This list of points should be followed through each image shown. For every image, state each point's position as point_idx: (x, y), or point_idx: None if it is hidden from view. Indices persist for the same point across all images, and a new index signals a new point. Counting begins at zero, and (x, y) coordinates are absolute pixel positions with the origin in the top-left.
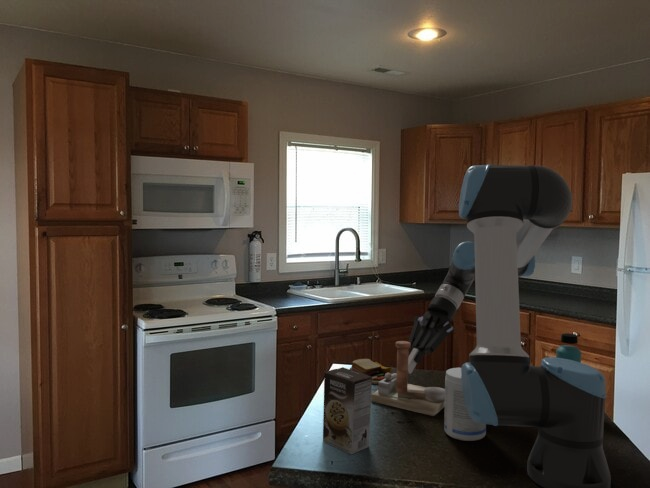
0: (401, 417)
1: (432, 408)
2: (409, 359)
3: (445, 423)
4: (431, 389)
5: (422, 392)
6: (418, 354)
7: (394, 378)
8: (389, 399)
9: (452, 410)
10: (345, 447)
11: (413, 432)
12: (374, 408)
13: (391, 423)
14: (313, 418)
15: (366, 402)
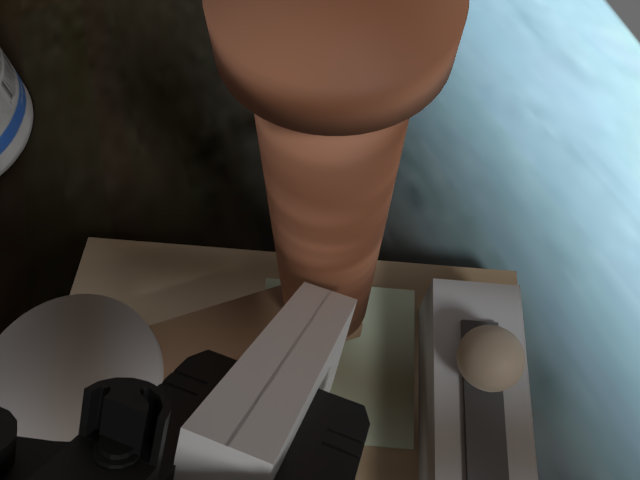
0: (260, 169)
1: (98, 239)
2: (297, 334)
3: (9, 61)
4: None
5: (174, 340)
6: (178, 407)
7: (460, 447)
8: (382, 265)
9: None
10: None
11: (167, 63)
12: (429, 206)
13: None
14: (581, 8)
15: None
